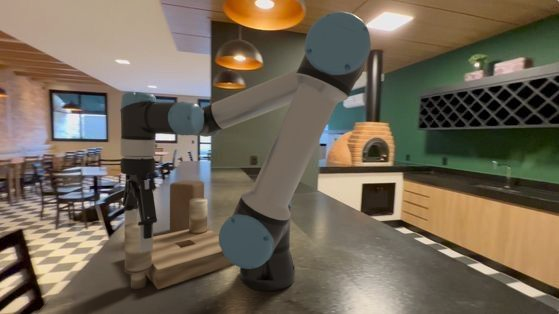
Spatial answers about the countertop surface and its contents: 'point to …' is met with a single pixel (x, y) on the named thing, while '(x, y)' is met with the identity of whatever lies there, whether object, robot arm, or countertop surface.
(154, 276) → the seat board
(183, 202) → the block
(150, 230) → the robot arm
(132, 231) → the peg
